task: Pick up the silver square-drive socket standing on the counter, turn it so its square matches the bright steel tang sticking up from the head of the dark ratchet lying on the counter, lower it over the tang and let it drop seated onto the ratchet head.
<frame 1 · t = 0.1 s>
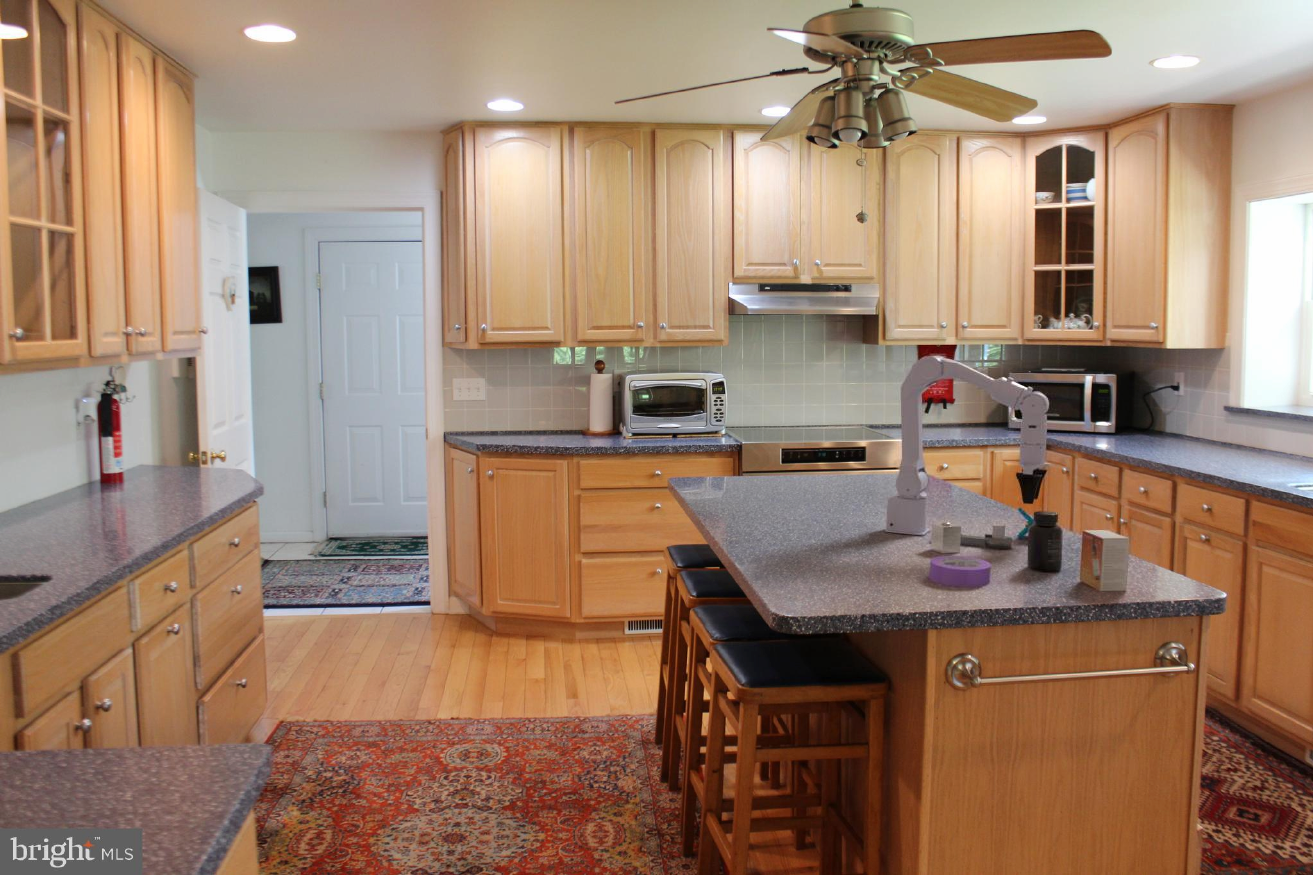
hand: (1030, 501, 237), 10 cm above the counter, tool pointing down, fingers open, 7 cm apart
small box: (1102, 587, 199), on the counter
supplement bottle: (1043, 569, 213), on the counter
gear: (1032, 539, 244), on the counter
masking tape: (959, 581, 203), on the counter
socket: (945, 550, 230), on the counter
ratchet: (998, 546, 234), on the counter
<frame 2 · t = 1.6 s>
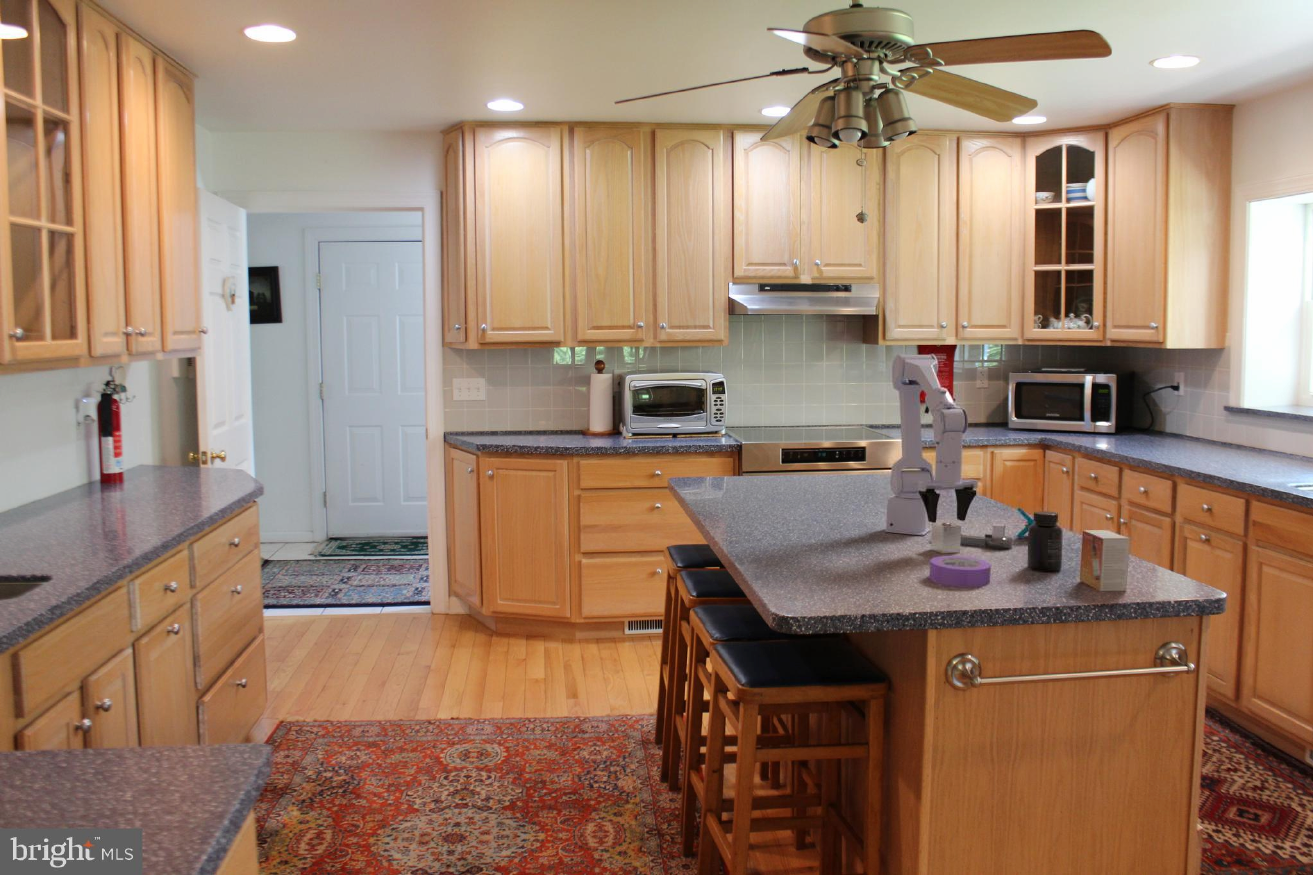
hand: (946, 521, 229), 7 cm above the counter, tool pointing down, fingers open, 7 cm apart
nothing on the counter moved.
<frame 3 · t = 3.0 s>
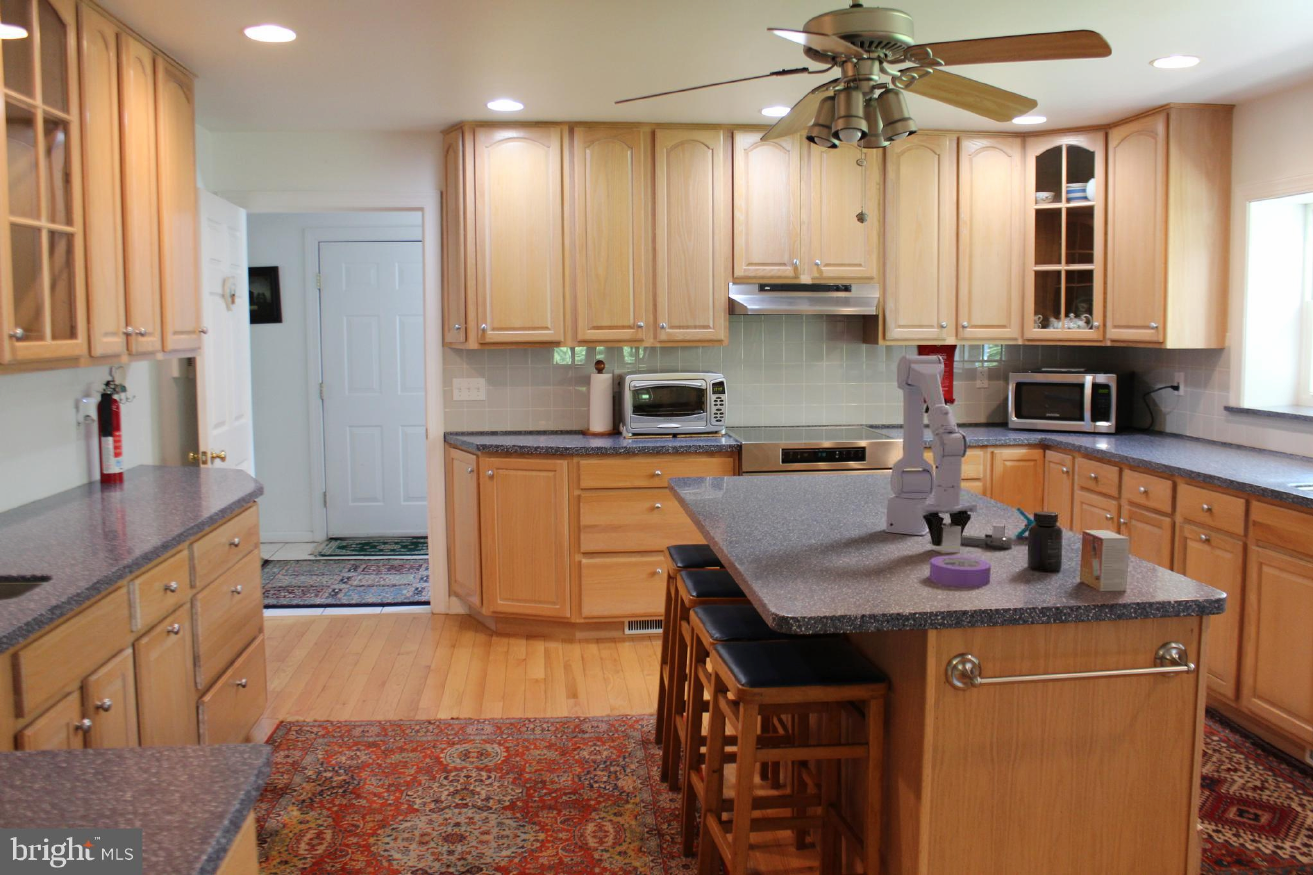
hand: (945, 544, 230), 1 cm above the counter, tool pointing down, fingers closed on socket, 5 cm apart
socket: (945, 550, 230), on the counter, touching gripper
everything else where it was.
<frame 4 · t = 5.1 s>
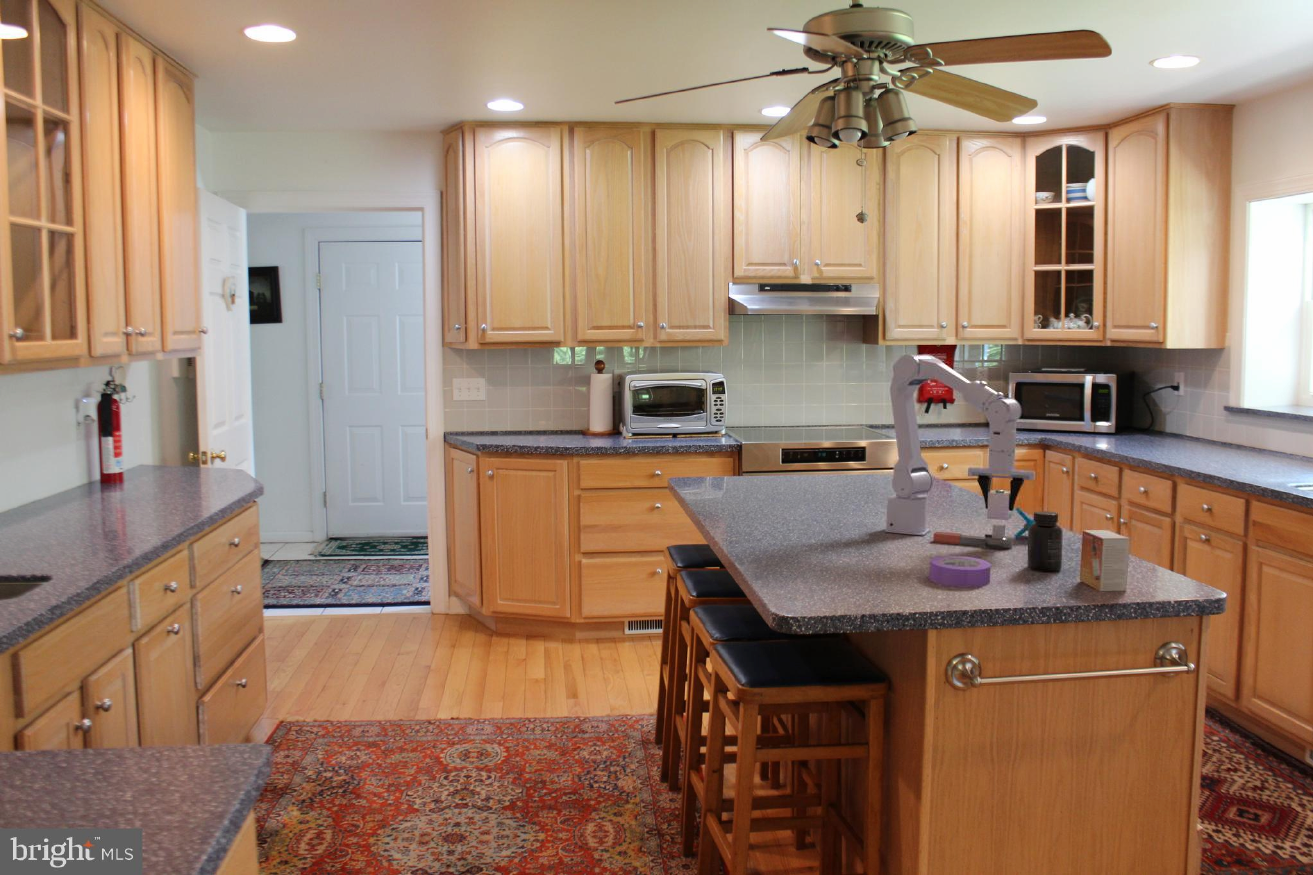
hand: (999, 509, 233), 9 cm above the counter, tool pointing down, fingers closed on socket, 5 cm apart
socket: (999, 517, 233), point 7 cm above the counter, touching gripper
everything else where it was.
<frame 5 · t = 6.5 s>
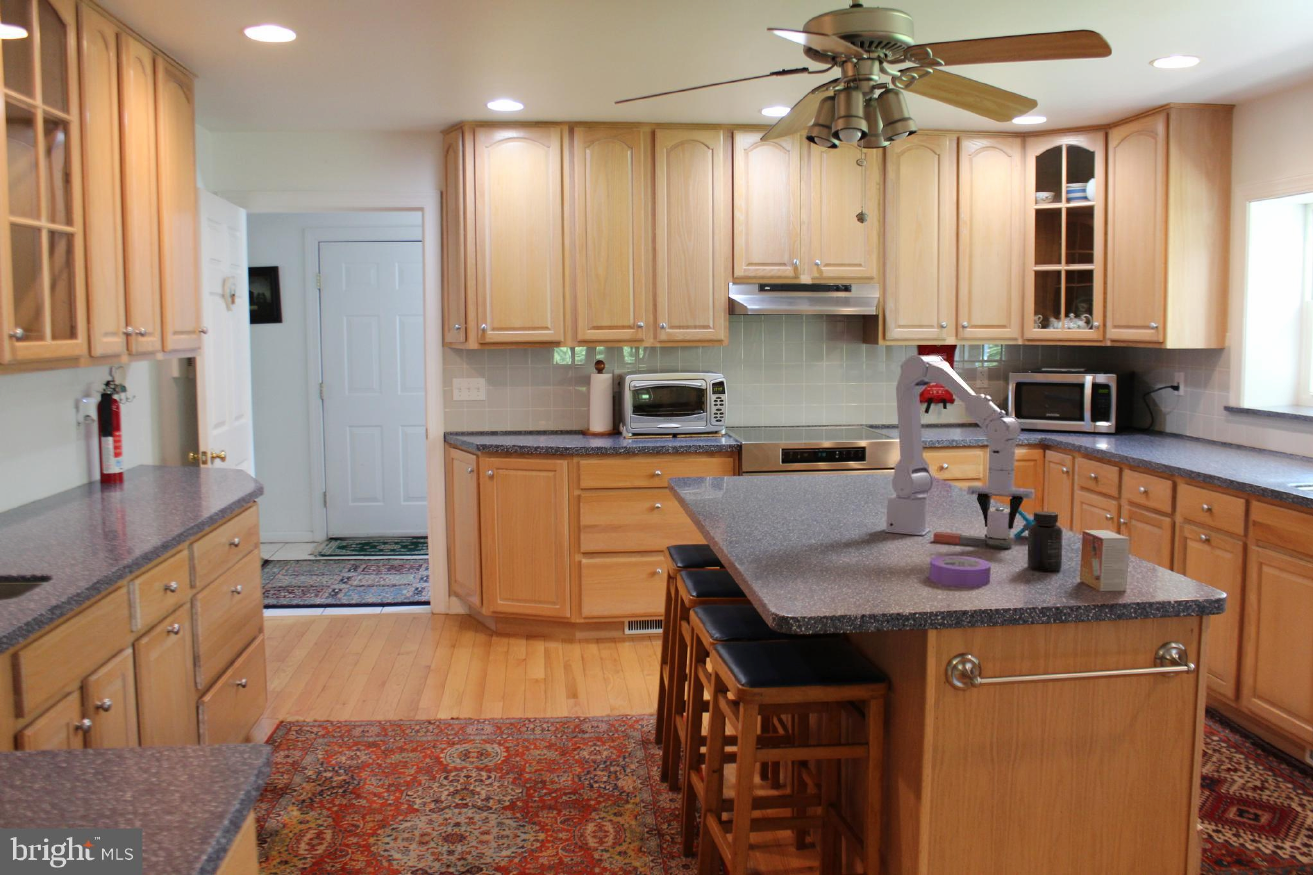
hand: (999, 527, 234), 5 cm above the counter, tool pointing down, fingers closed on socket, 5 cm apart
socket: (998, 535, 234), point 3 cm above the counter, touching gripper, ratchet
everything else where it was.
when the fingers open (5 cm above the counter, at t = 7.6 s): socket stays where it is, resting on ratchet.
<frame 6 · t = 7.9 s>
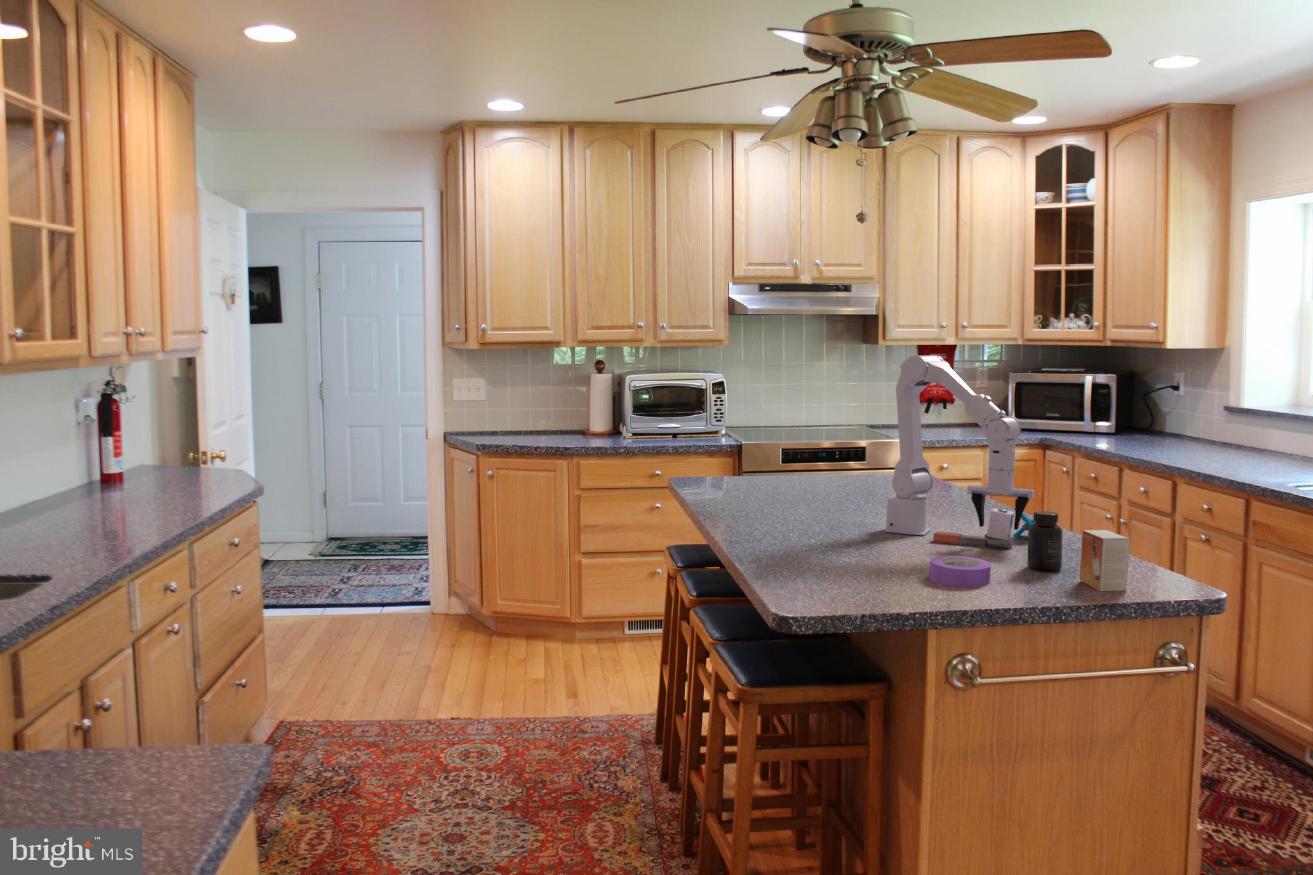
hand: (998, 527, 234), 5 cm above the counter, tool pointing down, fingers open, 7 cm apart
socket: (998, 536, 234), point 2 cm above the counter, tilted 7°, touching ratchet
everything else where it was.
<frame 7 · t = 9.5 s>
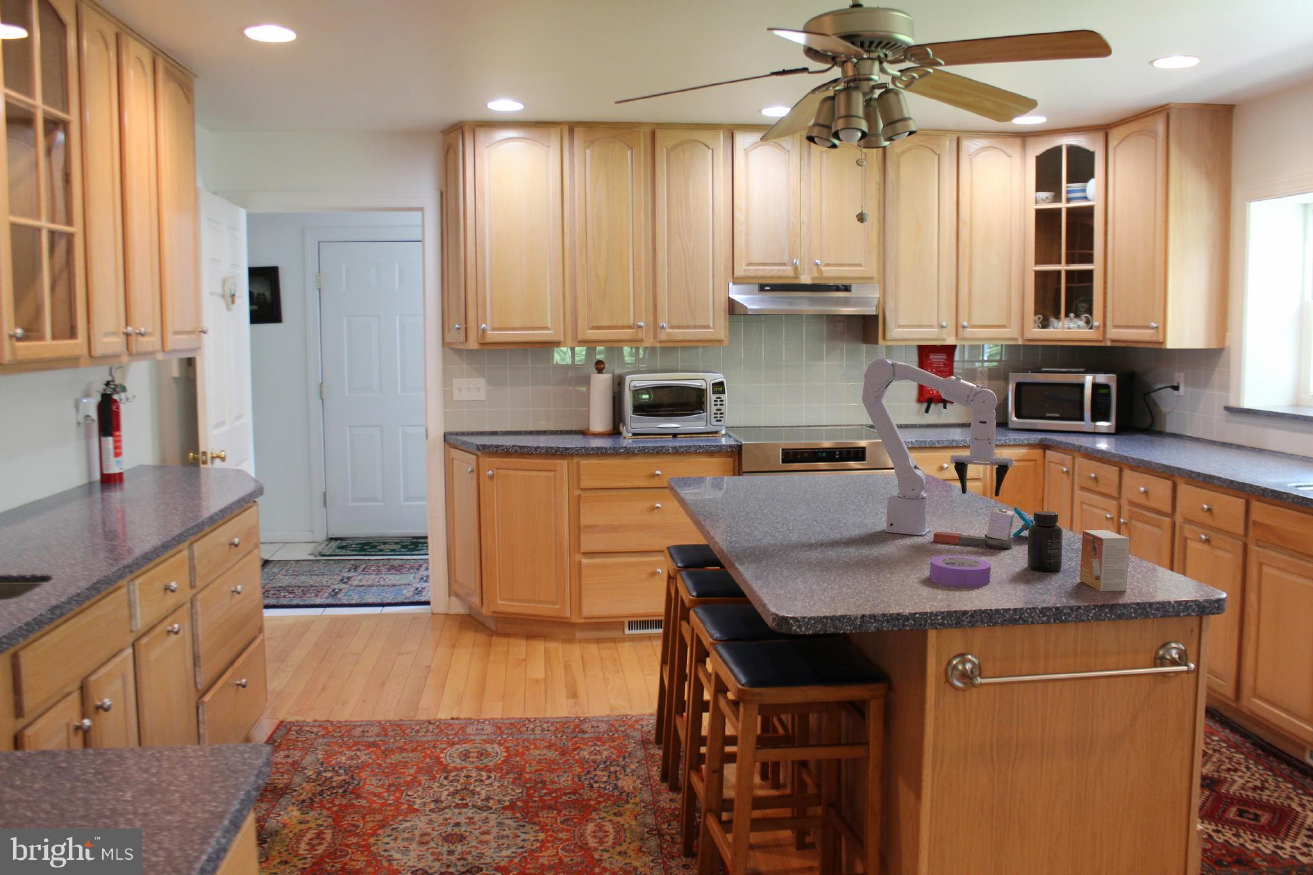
hand: (980, 494, 245), 10 cm above the counter, tool pointing down, fingers open, 7 cm apart
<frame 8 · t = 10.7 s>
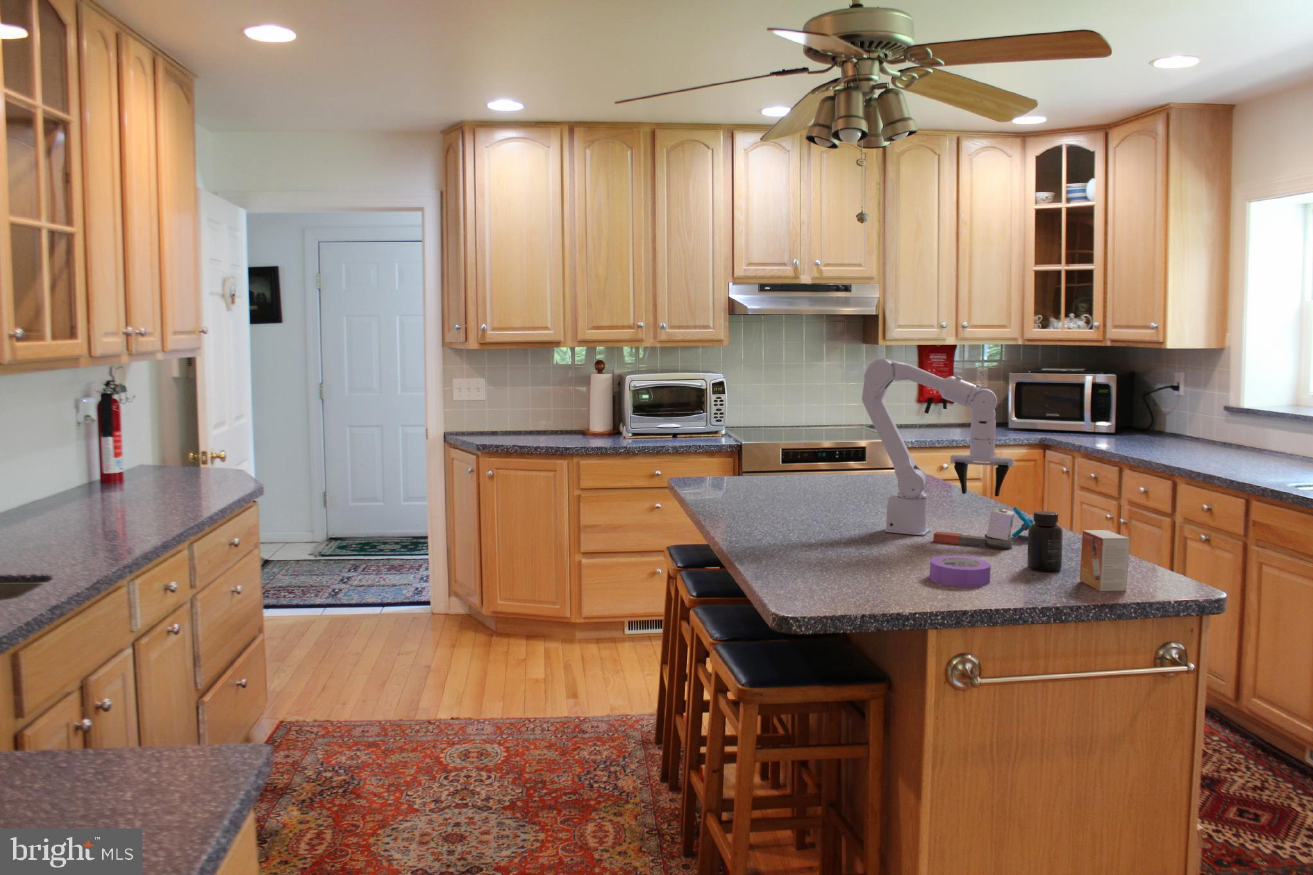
hand: (980, 494, 245), 10 cm above the counter, tool pointing down, fingers open, 7 cm apart
at the end: socket 0.1 cm off-centre on the ratchet, point 2.5 cm above the ratchet's base; socket tilted 7°; the gripper is holding nothing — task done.
